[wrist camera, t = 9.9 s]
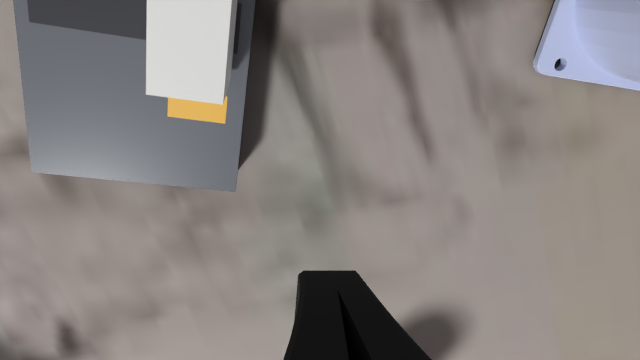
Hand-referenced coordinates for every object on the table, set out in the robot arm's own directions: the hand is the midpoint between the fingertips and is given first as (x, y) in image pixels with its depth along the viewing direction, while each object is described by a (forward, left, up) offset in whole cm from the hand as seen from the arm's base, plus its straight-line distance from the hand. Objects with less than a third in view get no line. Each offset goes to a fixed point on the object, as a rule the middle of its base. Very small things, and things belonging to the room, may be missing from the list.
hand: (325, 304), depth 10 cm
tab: (+4, -5, -7) cm, 9 cm away
